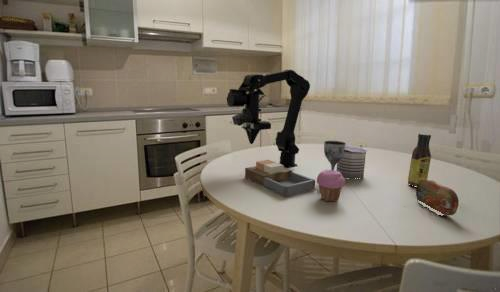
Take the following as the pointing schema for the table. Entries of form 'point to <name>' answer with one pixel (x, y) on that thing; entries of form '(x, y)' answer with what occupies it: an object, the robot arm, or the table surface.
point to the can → (352, 162)
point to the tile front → (273, 168)
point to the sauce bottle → (420, 160)
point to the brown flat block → (266, 175)
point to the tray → (290, 185)
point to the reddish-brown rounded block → (437, 197)
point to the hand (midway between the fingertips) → (251, 143)
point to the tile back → (262, 164)
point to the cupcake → (330, 184)
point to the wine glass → (334, 151)
